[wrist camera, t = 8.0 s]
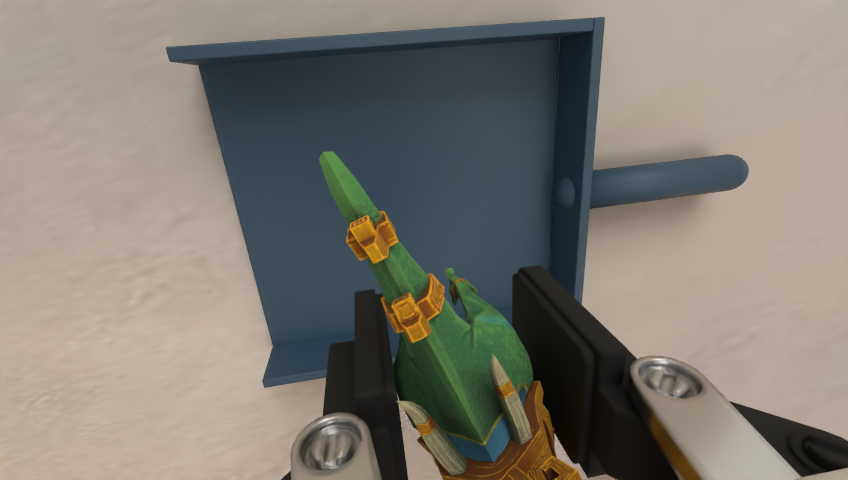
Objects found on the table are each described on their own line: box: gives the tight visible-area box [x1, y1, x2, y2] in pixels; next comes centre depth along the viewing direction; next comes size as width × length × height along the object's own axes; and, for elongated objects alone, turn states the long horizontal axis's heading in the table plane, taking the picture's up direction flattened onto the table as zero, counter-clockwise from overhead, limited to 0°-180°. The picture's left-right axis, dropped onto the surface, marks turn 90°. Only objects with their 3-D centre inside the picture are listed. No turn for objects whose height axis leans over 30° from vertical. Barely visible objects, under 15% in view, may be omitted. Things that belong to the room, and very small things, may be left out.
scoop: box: [166, 17, 749, 388], centre depth 21 cm, size 28×16×3 cm, turn 94°
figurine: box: [319, 151, 582, 480], centre depth 8 cm, size 3×12×8 cm, turn 25°
